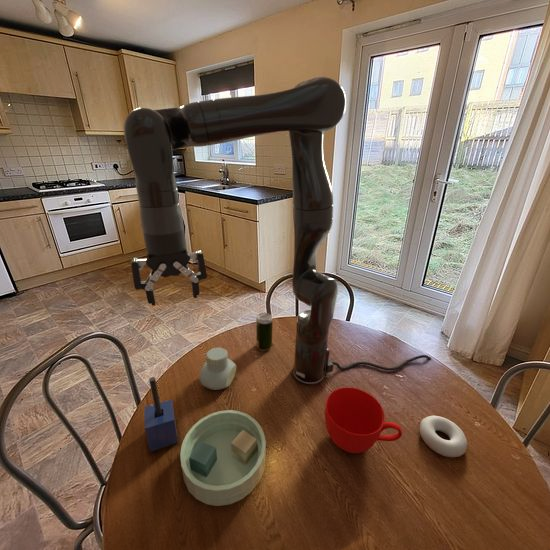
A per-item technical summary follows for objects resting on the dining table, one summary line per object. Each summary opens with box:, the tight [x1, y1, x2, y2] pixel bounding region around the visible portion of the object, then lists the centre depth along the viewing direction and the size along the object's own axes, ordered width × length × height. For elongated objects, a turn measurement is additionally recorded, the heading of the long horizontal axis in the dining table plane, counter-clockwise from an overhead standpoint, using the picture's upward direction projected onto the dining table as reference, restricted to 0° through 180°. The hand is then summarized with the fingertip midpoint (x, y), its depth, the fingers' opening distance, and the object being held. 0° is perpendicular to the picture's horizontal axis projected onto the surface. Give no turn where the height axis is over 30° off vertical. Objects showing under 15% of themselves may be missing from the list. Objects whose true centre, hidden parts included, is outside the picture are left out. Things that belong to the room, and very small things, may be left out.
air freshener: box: [198, 347, 237, 391], centre depth 83 cm, size 11×8×10 cm
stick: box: [148, 376, 162, 417], centre depth 65 cm, size 1×1×18 cm
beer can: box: [255, 312, 274, 352], centre depth 98 cm, size 5×5×12 cm
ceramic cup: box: [324, 386, 403, 454], centre depth 67 cm, size 13×17×10 cm
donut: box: [419, 415, 468, 458], centre depth 69 cm, size 10×4×10 cm
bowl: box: [179, 409, 267, 507], centre depth 63 cm, size 18×18×6 cm
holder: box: [143, 399, 179, 453], centre depth 67 cm, size 6×6×8 cm
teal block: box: [189, 441, 217, 477], centre depth 62 cm, size 4×4×4 cm
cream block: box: [231, 430, 257, 465], centre depth 64 cm, size 4×4×4 cm
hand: (174, 300), depth 63 cm, fingers open, 8 cm apart
